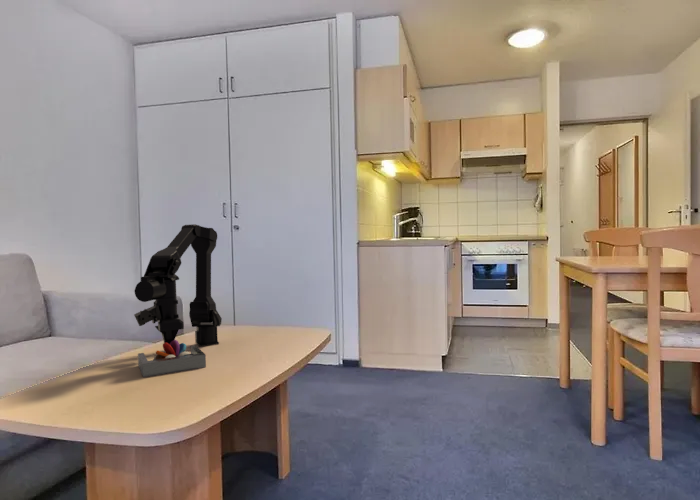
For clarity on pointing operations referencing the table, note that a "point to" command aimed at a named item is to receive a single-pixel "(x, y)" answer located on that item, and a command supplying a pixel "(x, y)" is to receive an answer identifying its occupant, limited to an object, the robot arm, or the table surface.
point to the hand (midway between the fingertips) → (168, 350)
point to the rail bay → (172, 363)
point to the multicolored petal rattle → (172, 350)
